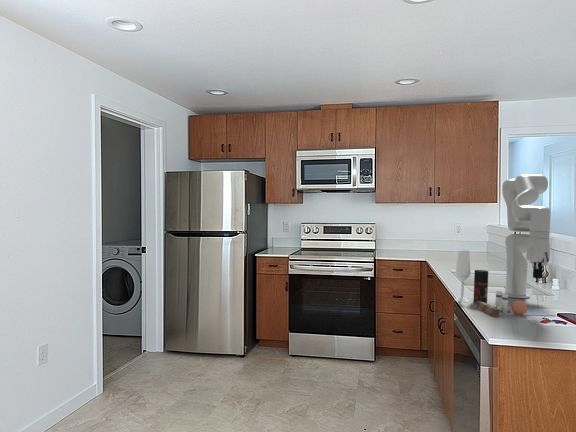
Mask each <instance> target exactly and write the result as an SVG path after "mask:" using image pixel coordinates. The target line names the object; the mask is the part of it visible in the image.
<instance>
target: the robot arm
mask: <svg viewBox="0 0 576 432" xmlns="http://www.w3.org/2000/svg"><path fill="white" fill-rule="evenodd" d="M501 187H502V188H501V191H502V196H503V200H504V202H505V204H506V205H505V206H506V214H507V215H506V216H507V218H506V219H507V228H508V230H509V231H511V232H515V233H511V234H508V235H507V236H506V237H505V251H506V252H505V253H506V266H505V267H506V268H505V285H504V286H503V288H504V290H505V291H502V293H507V294H508V298H514V299H516V298H517V299H528V298H530V293H527V284H528V283H527V281H528V261H529V263H530V264H531V265H532V268H533V269H532V278H534V279H543V271H544V267H547V266H548V263H549V262H550V258H551V248H550V230H551V229H550V228H551V214H552V213H551V208H549V207H547V206H540V205H539V206H536V205H535V206H534V205H532V204H534V203H535V202H537V201H538V199H539V196H540V195H541V194H544V193H545V192H546V191H547V189H548V188H549V181H548V178H547V177H546V176H545V175H543V174H527V173H525V174H520V175H518V176H516V177H515V178H510V179H506V180H505V181H503V183H502V186H501ZM527 233H528V234H527ZM523 254H526V255H525V256H524V255H523Z"/></svg>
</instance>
